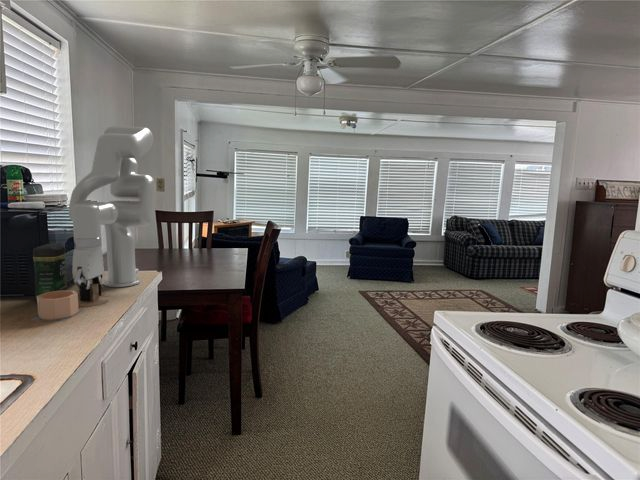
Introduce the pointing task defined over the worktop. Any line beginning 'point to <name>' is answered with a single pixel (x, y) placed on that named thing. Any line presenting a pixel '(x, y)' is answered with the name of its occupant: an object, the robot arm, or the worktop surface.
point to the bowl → (57, 304)
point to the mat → (59, 319)
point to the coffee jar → (49, 268)
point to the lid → (94, 298)
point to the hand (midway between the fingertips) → (91, 297)
